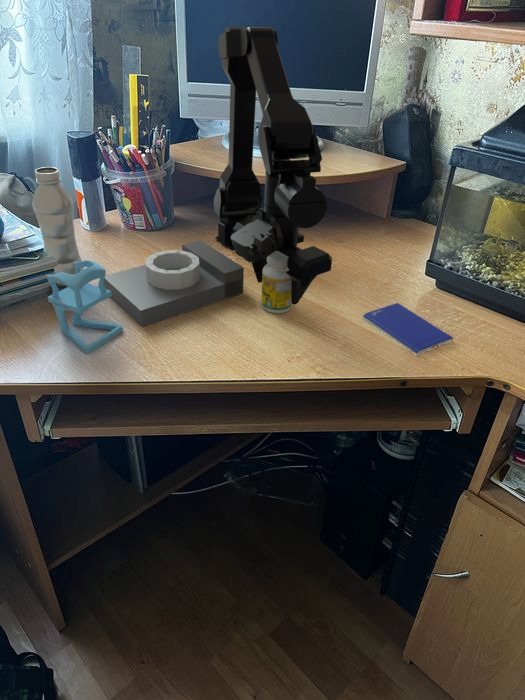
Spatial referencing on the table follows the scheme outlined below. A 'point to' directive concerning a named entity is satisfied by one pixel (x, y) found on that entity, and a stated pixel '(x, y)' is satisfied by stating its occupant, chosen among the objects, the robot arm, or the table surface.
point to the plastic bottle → (56, 220)
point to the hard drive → (407, 328)
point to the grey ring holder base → (175, 282)
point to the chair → (81, 301)
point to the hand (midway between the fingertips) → (277, 292)
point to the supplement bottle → (276, 284)
